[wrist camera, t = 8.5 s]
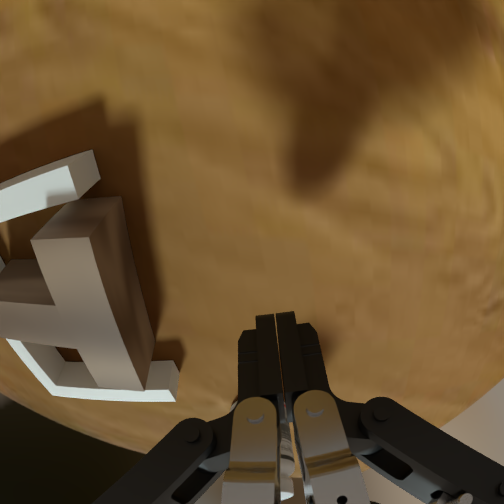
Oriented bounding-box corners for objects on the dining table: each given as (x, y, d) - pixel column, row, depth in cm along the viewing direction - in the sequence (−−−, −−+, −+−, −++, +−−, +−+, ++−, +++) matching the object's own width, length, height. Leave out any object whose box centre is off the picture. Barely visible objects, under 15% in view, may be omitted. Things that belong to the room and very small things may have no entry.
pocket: (-37, 200, 13) (-61, 219, 11) (92, 149, 12) (67, 165, 10) (61, 372, 21) (52, 395, 19) (179, 372, 21) (175, 401, 19)
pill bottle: (225, 417, 25) (226, 503, 18) (236, 390, 22) (238, 490, 15) (277, 420, 26) (285, 502, 19) (294, 394, 23) (308, 489, 16)
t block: (-6, 209, 14) (-46, 244, 10) (121, 195, 14) (89, 237, 10) (45, 332, 19) (25, 373, 15) (155, 341, 19) (144, 391, 16)
